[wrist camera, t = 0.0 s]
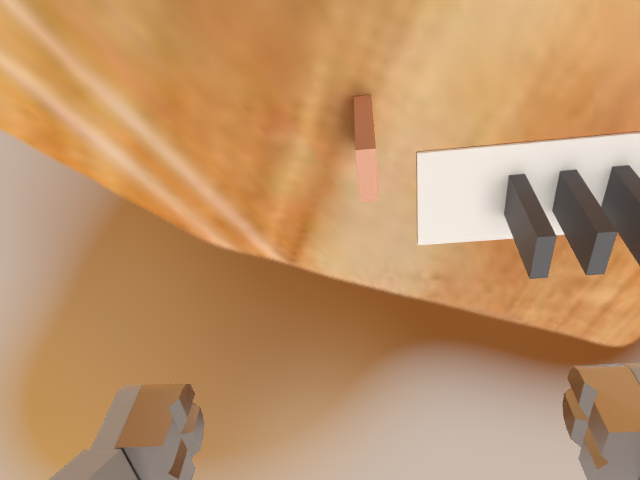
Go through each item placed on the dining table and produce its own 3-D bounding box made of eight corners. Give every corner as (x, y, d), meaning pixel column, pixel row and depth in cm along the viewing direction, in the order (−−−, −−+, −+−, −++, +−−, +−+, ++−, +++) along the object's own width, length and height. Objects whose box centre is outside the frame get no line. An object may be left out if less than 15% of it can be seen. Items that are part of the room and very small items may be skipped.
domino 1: (508, 175, 52) (537, 237, 44) (525, 173, 52) (556, 236, 44) (503, 214, 55) (529, 278, 48) (519, 213, 55) (547, 277, 47)
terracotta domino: (353, 96, 48) (355, 150, 40) (370, 94, 48) (375, 148, 40) (357, 143, 51) (360, 202, 43) (374, 142, 51) (379, 200, 43)
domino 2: (559, 170, 52) (597, 233, 44) (576, 169, 51) (617, 231, 44) (551, 210, 55) (586, 275, 47) (567, 209, 55) (604, 274, 47)
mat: (417, 151, 51) (417, 153, 51) (764, 120, 48) (766, 121, 47) (417, 243, 59) (417, 245, 58) (717, 222, 55) (718, 223, 55)
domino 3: (612, 166, 51) (659, 228, 43) (629, 165, 51) (679, 227, 43) (601, 206, 54) (643, 271, 46) (617, 205, 54) (662, 270, 46)
